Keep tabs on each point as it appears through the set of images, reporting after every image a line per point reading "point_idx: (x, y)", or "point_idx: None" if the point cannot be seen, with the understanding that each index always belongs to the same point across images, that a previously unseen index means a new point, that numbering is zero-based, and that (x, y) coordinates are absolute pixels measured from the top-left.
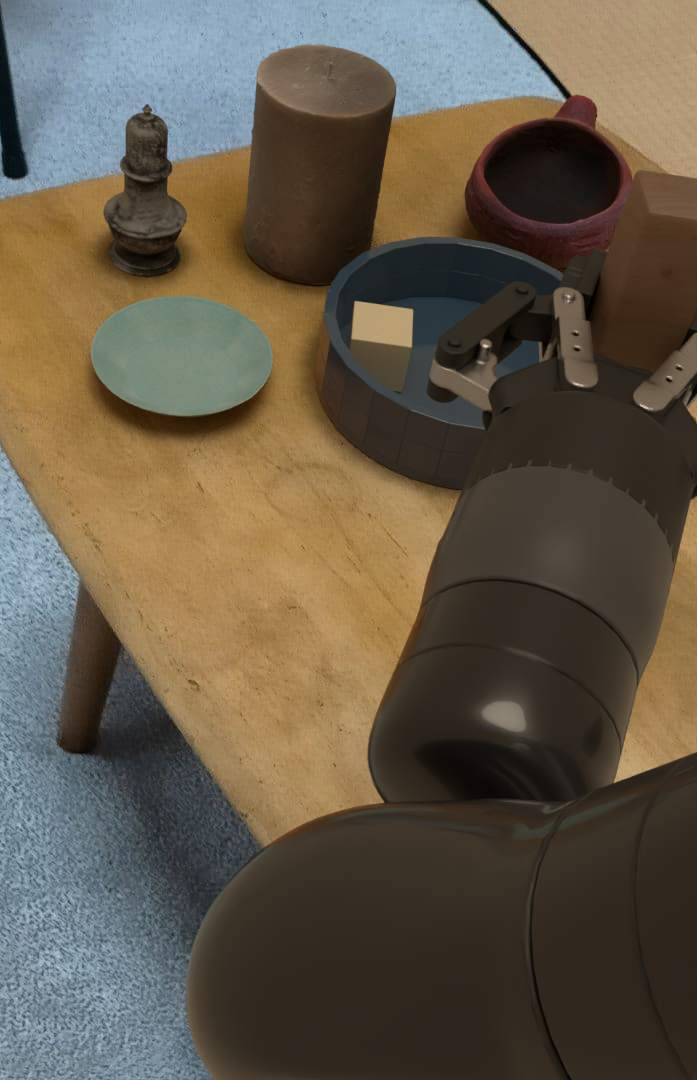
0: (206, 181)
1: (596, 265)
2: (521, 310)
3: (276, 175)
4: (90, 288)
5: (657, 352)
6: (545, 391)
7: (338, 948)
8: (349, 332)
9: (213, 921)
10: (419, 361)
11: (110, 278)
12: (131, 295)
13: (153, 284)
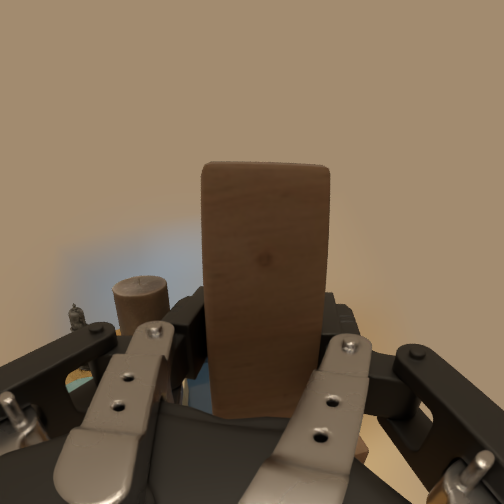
0: (117, 334)
1: (201, 298)
2: (86, 353)
3: (124, 324)
4: (67, 376)
5: (290, 376)
6: (48, 494)
7: None
8: None
9: None
10: (196, 392)
11: (75, 372)
12: (81, 378)
13: (89, 373)
